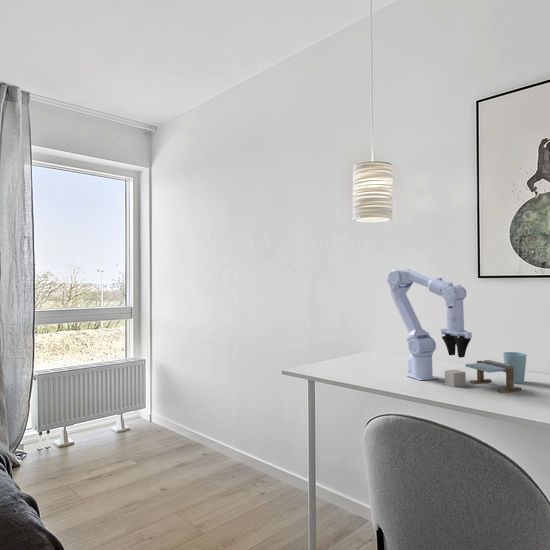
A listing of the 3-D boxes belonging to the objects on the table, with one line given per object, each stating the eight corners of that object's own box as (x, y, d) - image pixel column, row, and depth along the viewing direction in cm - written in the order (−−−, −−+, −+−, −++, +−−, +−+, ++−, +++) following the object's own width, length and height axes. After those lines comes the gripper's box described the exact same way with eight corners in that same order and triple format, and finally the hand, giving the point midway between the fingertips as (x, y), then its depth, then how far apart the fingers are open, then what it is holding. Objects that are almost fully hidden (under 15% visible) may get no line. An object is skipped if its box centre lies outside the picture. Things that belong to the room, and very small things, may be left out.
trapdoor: (465, 368, 165) (465, 362, 165) (489, 366, 168) (489, 360, 168) (488, 375, 153) (488, 367, 153) (514, 372, 156) (513, 365, 156)
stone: (444, 384, 166) (444, 370, 167) (456, 383, 168) (456, 369, 168) (453, 387, 162) (453, 373, 162) (465, 386, 163) (465, 372, 163)
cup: (502, 382, 166) (501, 354, 166) (505, 378, 173) (504, 351, 173) (525, 385, 162) (525, 355, 162) (527, 381, 168) (527, 352, 169)
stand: (470, 382, 167) (469, 361, 167) (487, 380, 170) (487, 360, 170) (502, 392, 152) (501, 369, 153) (521, 390, 155) (520, 367, 155)
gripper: (478, 319, 159) (480, 358, 158) (451, 316, 173) (452, 352, 172) (461, 320, 157) (463, 359, 156) (435, 317, 171) (436, 353, 170)
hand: (456, 356), depth 164 cm, fingers open, 5 cm apart
